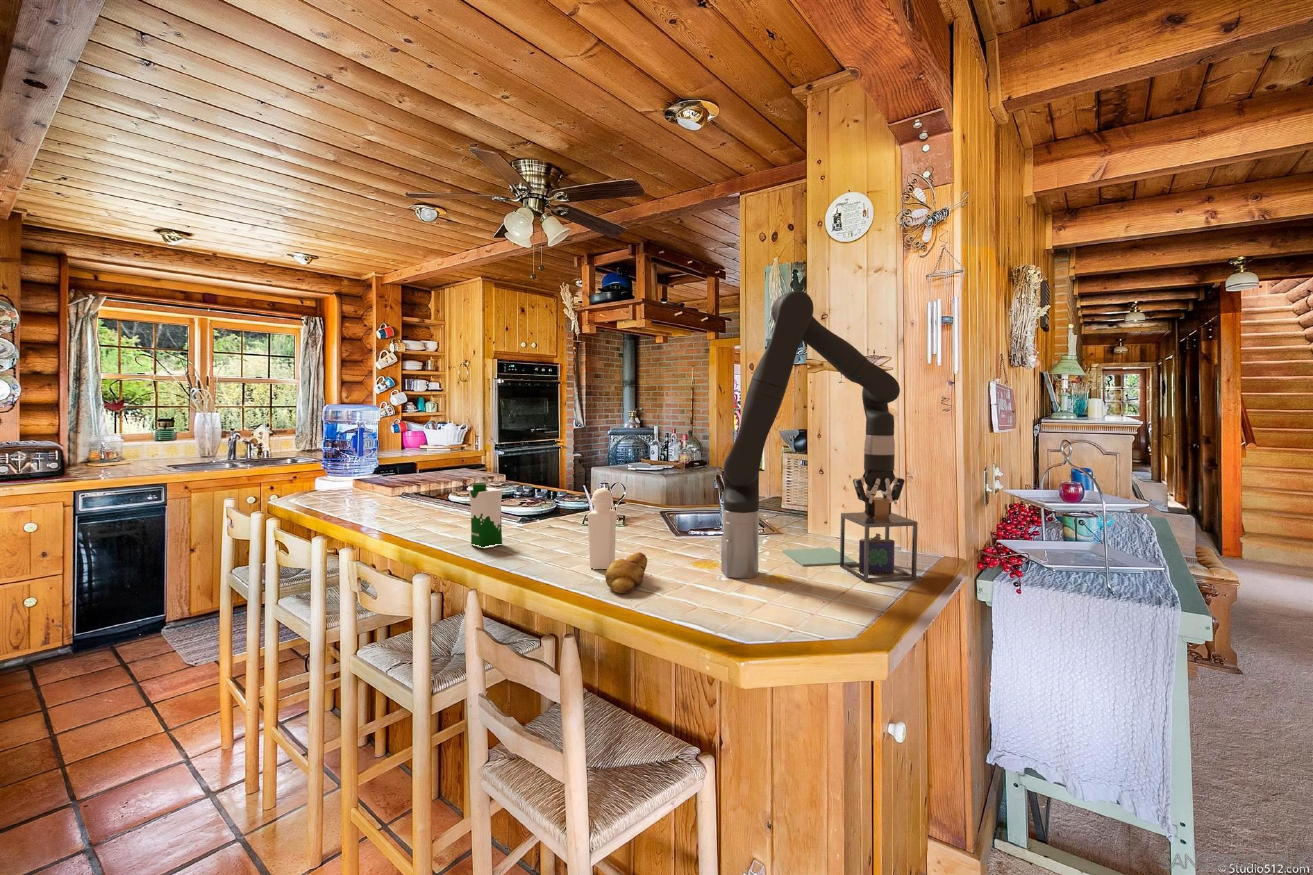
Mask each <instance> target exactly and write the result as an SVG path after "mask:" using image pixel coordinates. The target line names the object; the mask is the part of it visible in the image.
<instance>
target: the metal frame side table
mask: <svg viewBox="0 0 1313 875" xmlns="http://www.w3.org/2000/svg"><path fill="white" fill-rule="evenodd" d="M872 504H873V517H867V515H866V514H865V511H864V512H840V535H839V536H840V540H839V541H840V542H839V543H840V544H839V547H840V548H839V550H840V551H839V552H840V565H839V568H842V569H843V570H844V571H846V570H847V571H846V572H847V573H849V572H850V573H849V574H851V575H853V576H854V577H856V578H857V579H859V580H861V581H863V582H864V583H873V582H874V583H876V582H892V581H893V582H896V581H911V580H912V581H913V580H917V562H918V561H917V560H918V558H917V557H918V554H917V553H918V521H916V520H914V519H912V518H911V519H910V518H908V517H905V516H902V515H901V514H900V515H899V514H897V513H895V512H894V513H893V512H891V514H890V515H889V499H885V498H883V496H880V497H878V496H877V497H875V496H874V500H873V503H872ZM846 520H847V521H850V522H852V523H854V524H857V525H859V526H862V527H864V538H863V539H864V574H863V575H862V574H861V573H859V572H857V571H856V570H854V569H852V568H859V562H857V563H847V564H844V555H845V534H846V533H845V532H846V530H845V529H846V527H845V526H846ZM891 527H892V528H893V527H897V528H898V527H912V539H911V540H912V545H911V546H912V547H911V549H912V550H911V573H910V572H908V571H906V570H905V569H902V568H900V567H898V566H896V565H895V564H894V571H896V572H898V573H900V574H902V575H901V576H900V575H899V576H898V575H896V576H883V577H869V574H868V563H869V538H870V528H884V540H885V539H890V528H891Z"/></svg>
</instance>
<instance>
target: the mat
mask: <svg viewBox="0 0 1313 875" xmlns="http://www.w3.org/2000/svg"><path fill="white" fill-rule="evenodd" d="M781 552H782V553H783V552H784V553H783V554H784V555H786V556H788V557H789V558H791V559H792V560H793V561H794V562H796V561H797V562H796V563H797V564H799V565H801V566H802V567H811V566H812V567H814V566H816V567H817V566H834V565H839V566H840V551H838V550H837V549H834V548H833V547H822V548H821V547H819V548H814V547H813V548H795V549H794V548H793V549H792V548H791V549H782V550H781ZM847 563H858V562H857V561H856V560H854V559H852V558H850V557H849V556H847V555H845V554H844V564H847Z"/></svg>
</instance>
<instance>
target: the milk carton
mask: <svg viewBox="0 0 1313 875" xmlns="http://www.w3.org/2000/svg"><path fill="white" fill-rule="evenodd" d="M468 495H469V503H470V526H471V527H470V528H471V529H470V530H471V532H470V540H471V541H470V545H471V544H475V545H479V546H481V547H485V546H489V545H495V544H502V545H503V533H502V532H503V531H502V496H503V489H500V488H494V487H487V483H485V482H478V483H477V482H476V483H473V484H472V489H468Z"/></svg>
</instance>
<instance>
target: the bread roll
mask: <svg viewBox="0 0 1313 875" xmlns="http://www.w3.org/2000/svg"><path fill="white" fill-rule="evenodd" d="M647 565H648V558H647V556H646V555H645V554H644V553H643V552H636V553H633V554H630V555H629V556H628V557H626V559H624V558H619V559H616V560H615V561H613V562H612V563H611V564H610V566H609V568H608V570H606V573H605V574H604V575H605V576H604V577H605V582H606V585H607V587H609V588H610V589H612V591H613V592H615V593H617V592H618V593H617V594H627V593H626V592H628V593H630V591H631V592H632V591H633V590H634V589H636V588H638V586H639V587H640V586H641V585H642V583H643V582H644V577H645V571H646V569H647Z"/></svg>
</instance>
